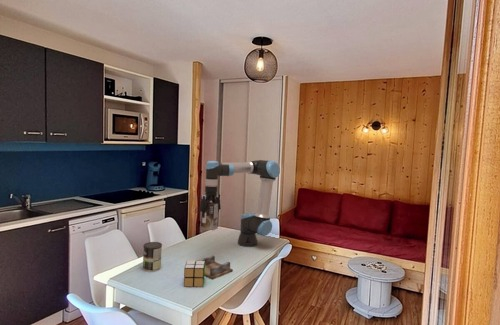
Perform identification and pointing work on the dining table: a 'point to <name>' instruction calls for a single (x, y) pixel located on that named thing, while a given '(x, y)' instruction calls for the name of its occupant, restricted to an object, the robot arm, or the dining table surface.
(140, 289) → the dining table surface
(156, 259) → the coffee can
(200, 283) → the puzzle cube
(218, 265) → the rail dock
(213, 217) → the coffee box
